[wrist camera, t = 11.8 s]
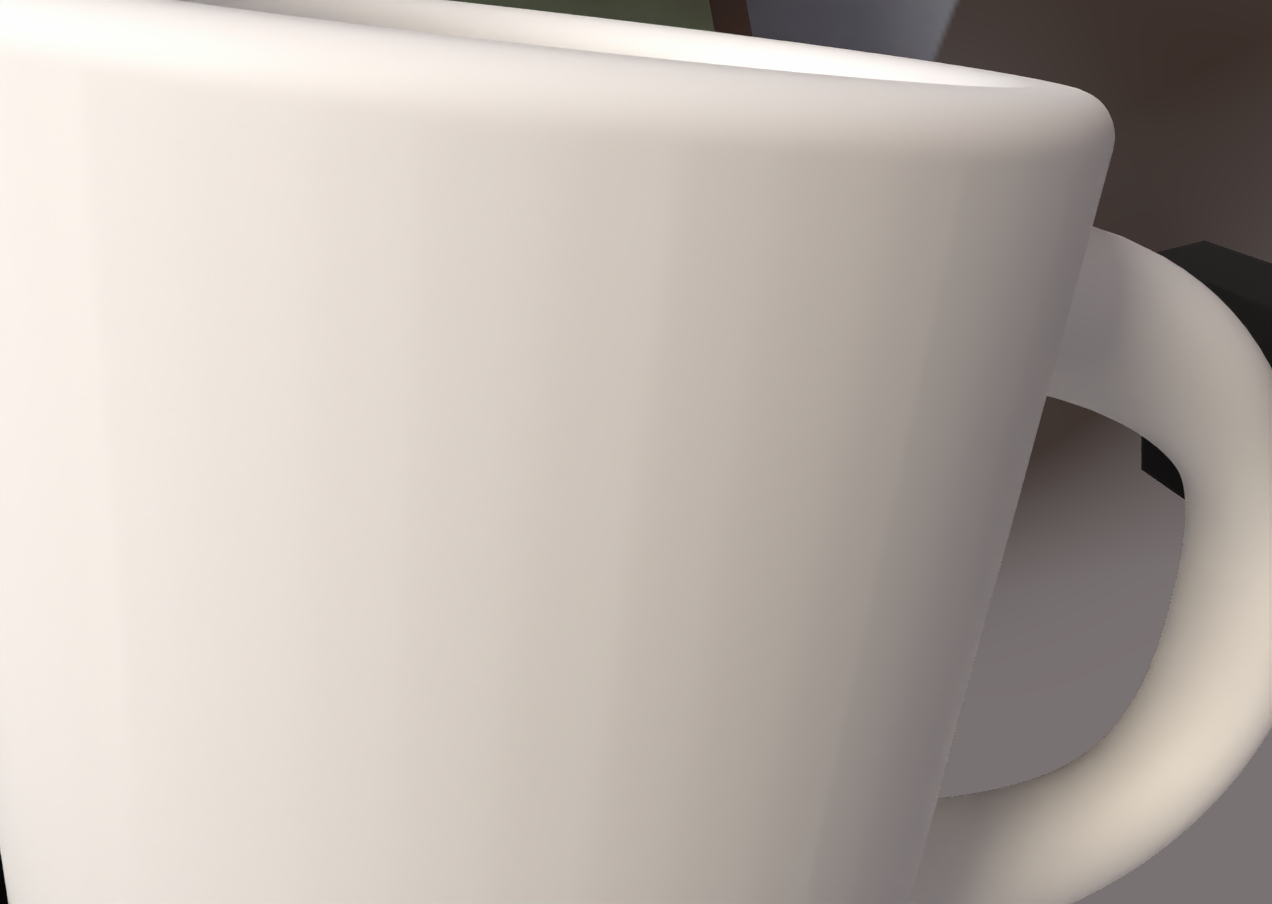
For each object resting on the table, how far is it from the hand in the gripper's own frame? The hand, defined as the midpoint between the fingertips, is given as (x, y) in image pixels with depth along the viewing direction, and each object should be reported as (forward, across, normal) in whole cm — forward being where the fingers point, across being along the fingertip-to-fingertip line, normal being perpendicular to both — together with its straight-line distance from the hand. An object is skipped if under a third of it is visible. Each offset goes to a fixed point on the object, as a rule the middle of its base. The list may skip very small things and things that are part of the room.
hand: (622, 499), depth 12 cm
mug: (+2, 0, 0) cm, 2 cm away
